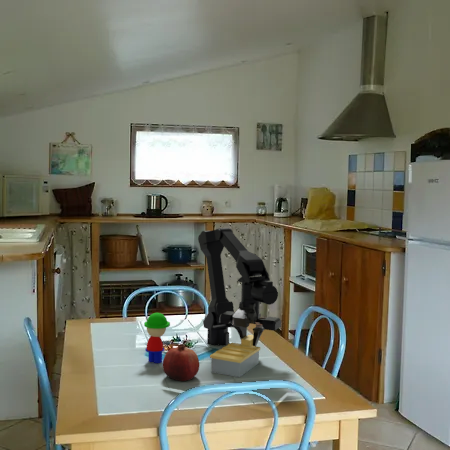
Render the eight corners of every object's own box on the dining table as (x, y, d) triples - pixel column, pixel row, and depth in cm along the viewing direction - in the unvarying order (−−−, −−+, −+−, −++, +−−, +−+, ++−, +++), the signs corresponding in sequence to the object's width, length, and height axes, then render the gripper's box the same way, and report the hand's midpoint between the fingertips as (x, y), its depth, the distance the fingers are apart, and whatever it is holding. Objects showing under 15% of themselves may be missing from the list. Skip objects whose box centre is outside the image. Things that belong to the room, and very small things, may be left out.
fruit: (158, 375, 165) (158, 341, 164) (190, 371, 168) (191, 338, 168) (169, 388, 155) (170, 352, 154) (204, 384, 159) (204, 348, 158)
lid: (240, 363, 162) (240, 354, 162) (210, 357, 166) (210, 349, 166) (267, 344, 180) (267, 337, 180) (239, 340, 184) (239, 333, 184)
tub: (239, 379, 163) (239, 362, 162) (211, 374, 166) (211, 357, 166) (258, 365, 175) (258, 349, 175) (231, 361, 179) (232, 345, 179)
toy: (174, 359, 180) (174, 311, 179) (161, 366, 173) (161, 317, 172) (152, 355, 183) (153, 308, 182) (139, 362, 176) (139, 314, 175)
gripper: (211, 299, 175) (210, 349, 176) (269, 306, 167) (267, 359, 168) (227, 293, 185) (226, 340, 186) (282, 299, 177) (280, 349, 178)
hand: (249, 347), depth 179 cm, fingers closed on lid, 3 cm apart
